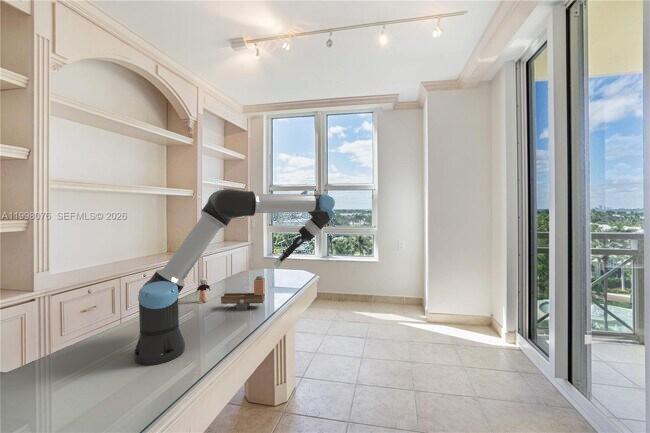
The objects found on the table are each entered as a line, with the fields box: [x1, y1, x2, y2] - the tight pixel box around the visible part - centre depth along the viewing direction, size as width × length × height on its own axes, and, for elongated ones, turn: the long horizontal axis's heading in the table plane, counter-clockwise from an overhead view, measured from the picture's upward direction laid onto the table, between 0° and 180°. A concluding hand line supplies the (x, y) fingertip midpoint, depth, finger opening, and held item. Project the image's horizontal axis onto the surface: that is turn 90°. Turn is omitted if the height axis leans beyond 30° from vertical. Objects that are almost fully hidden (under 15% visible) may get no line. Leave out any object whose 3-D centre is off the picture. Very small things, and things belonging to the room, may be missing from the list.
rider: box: [253, 275, 266, 295], centre depth 149 cm, size 4×4×10 cm
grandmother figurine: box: [195, 277, 212, 304], centre depth 159 cm, size 8×4×13 cm, turn 143°
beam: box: [220, 292, 266, 311], centre depth 149 cm, size 7×20×7 cm, turn 92°
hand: (277, 263), depth 149 cm, fingers open, 9 cm apart
